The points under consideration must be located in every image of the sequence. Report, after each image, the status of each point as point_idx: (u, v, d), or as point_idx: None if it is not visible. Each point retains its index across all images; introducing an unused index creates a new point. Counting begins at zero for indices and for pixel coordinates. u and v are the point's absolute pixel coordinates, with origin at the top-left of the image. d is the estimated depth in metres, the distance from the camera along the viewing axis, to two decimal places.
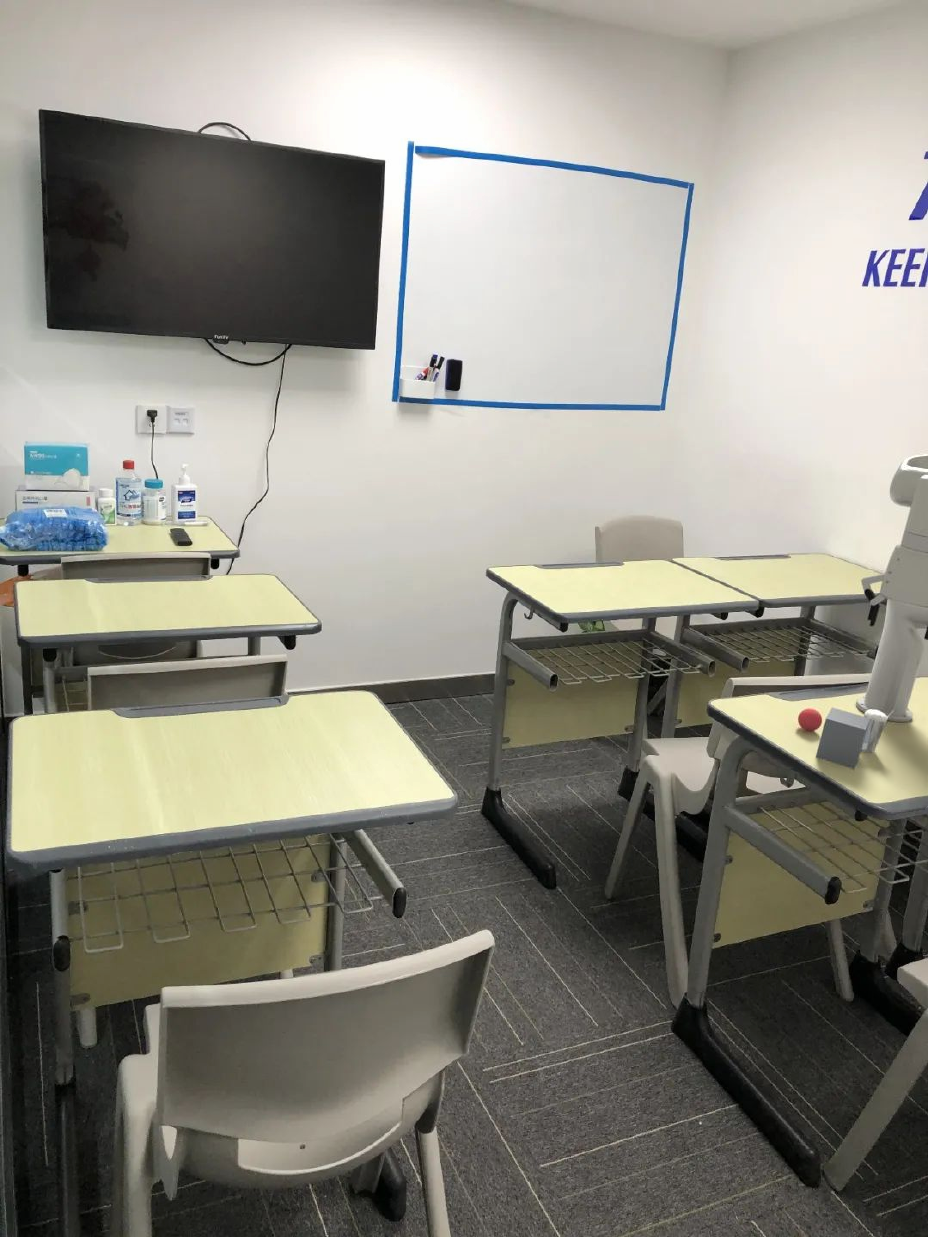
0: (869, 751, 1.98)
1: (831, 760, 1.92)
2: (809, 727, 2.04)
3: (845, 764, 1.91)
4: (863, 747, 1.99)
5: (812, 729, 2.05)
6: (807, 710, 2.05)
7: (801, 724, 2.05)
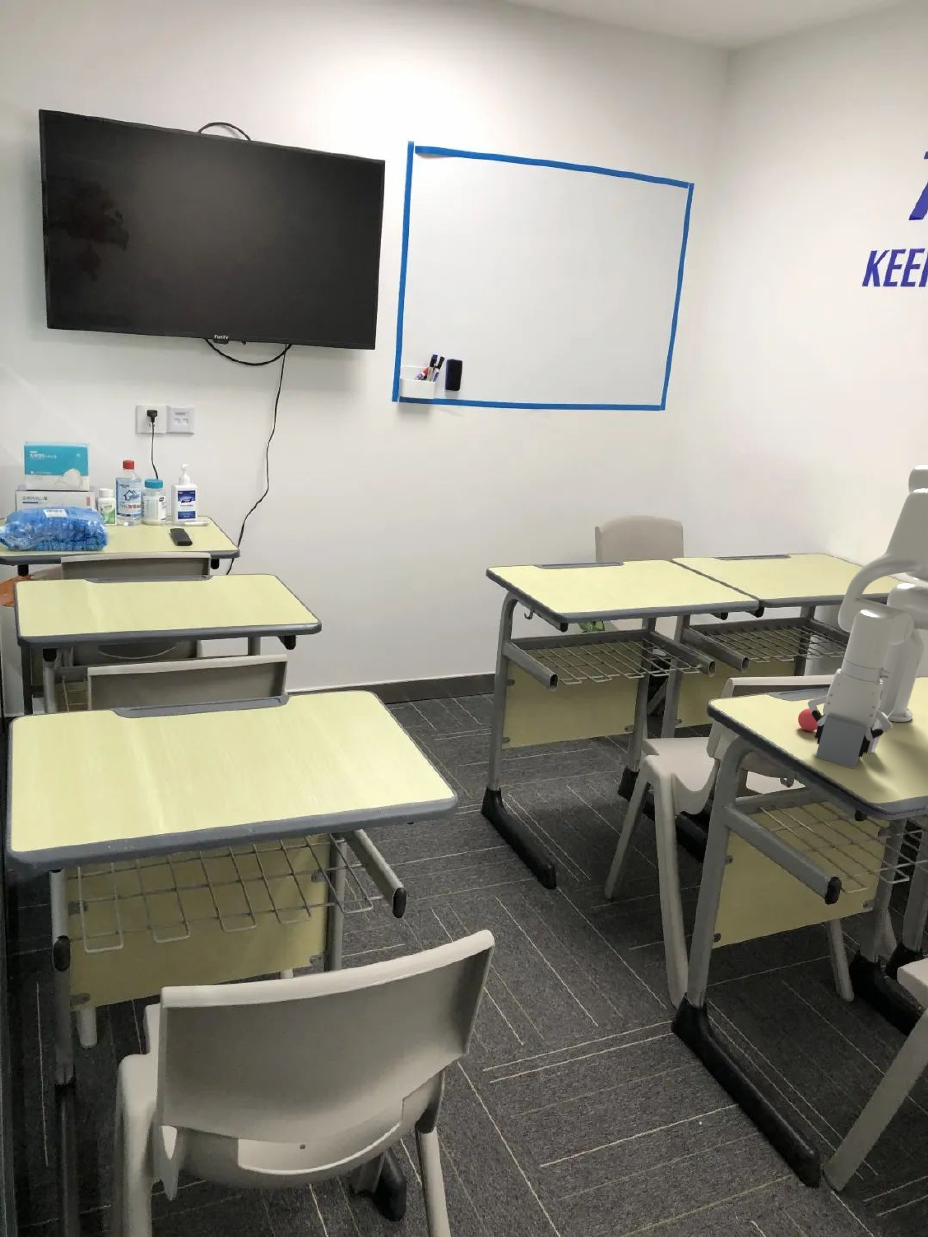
0: (869, 751, 1.98)
1: (831, 760, 1.92)
2: (809, 727, 2.04)
3: (845, 764, 1.91)
4: None
5: (812, 729, 2.05)
6: (807, 710, 2.05)
7: (801, 724, 2.05)
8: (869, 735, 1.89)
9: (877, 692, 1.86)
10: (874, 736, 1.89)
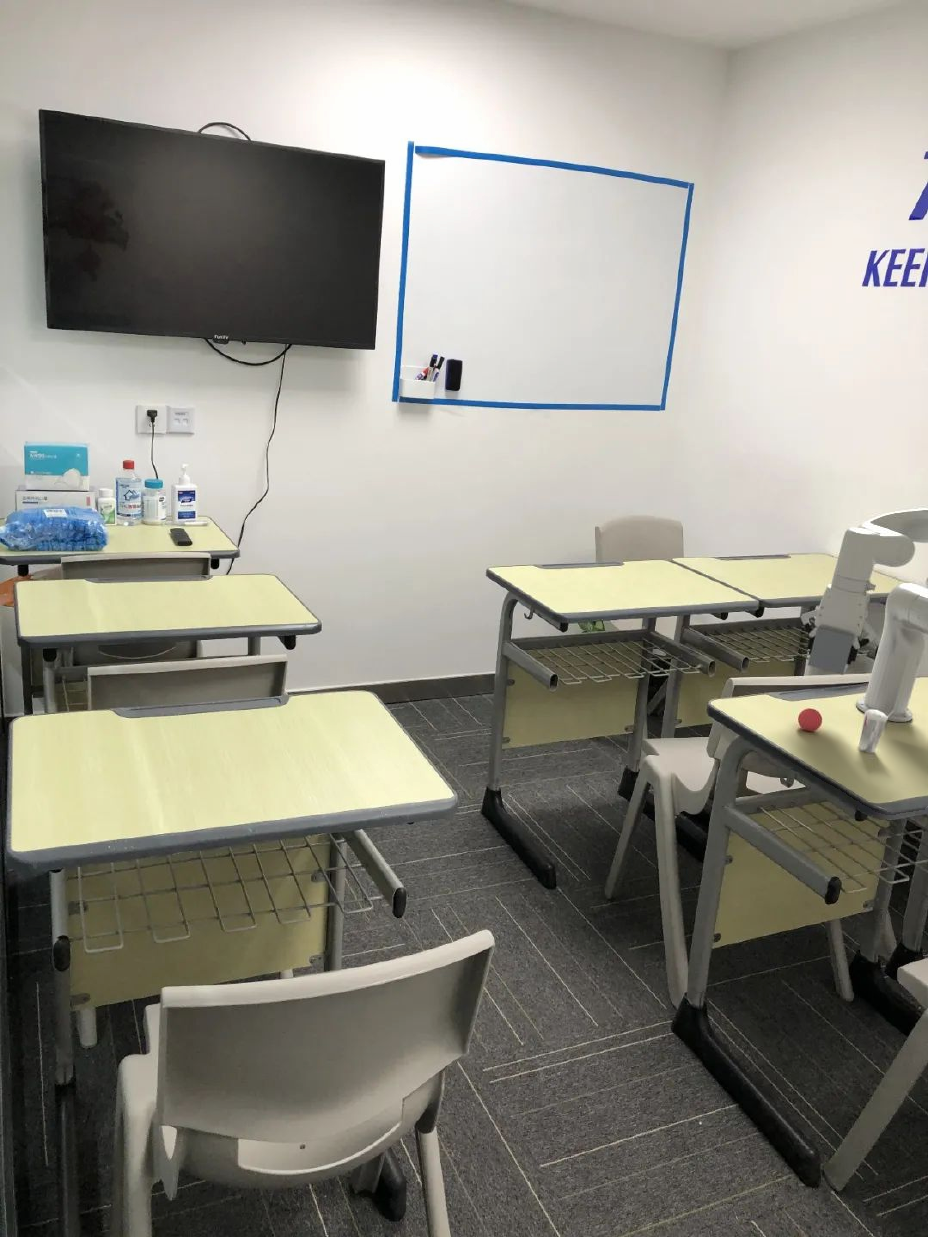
0: (869, 751, 1.98)
1: (822, 668, 2.09)
2: (809, 727, 2.04)
3: (834, 670, 2.08)
4: (863, 747, 1.99)
5: (812, 729, 2.05)
6: (807, 710, 2.05)
7: (801, 724, 2.05)
8: (857, 644, 2.07)
9: (864, 603, 2.04)
10: (861, 645, 2.07)
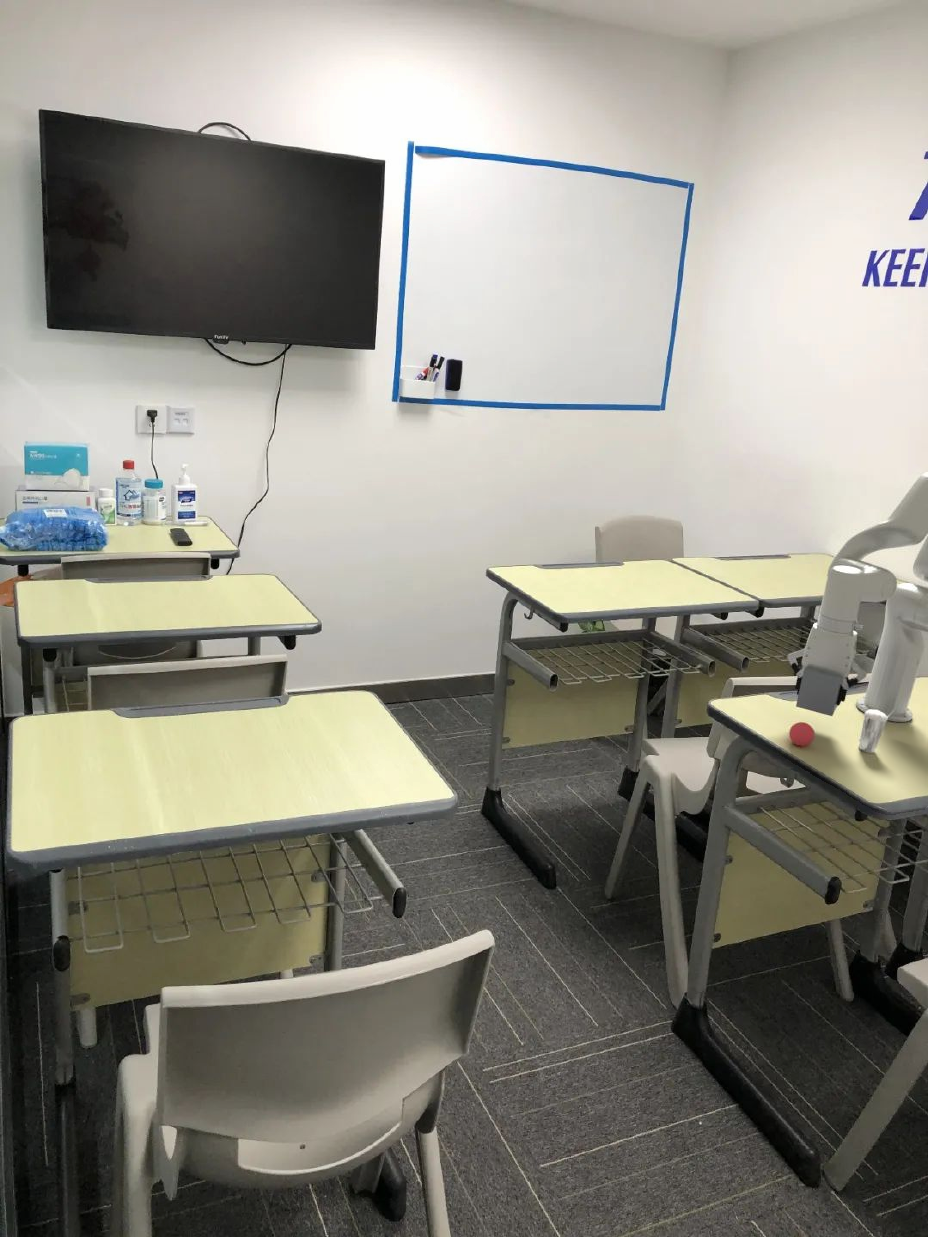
0: (869, 751, 1.98)
1: (811, 709, 2.04)
2: None
3: (823, 712, 2.02)
4: (863, 747, 1.99)
5: (809, 726, 1.97)
6: None
7: None
8: (845, 684, 2.01)
9: (851, 643, 1.98)
10: (850, 685, 2.01)
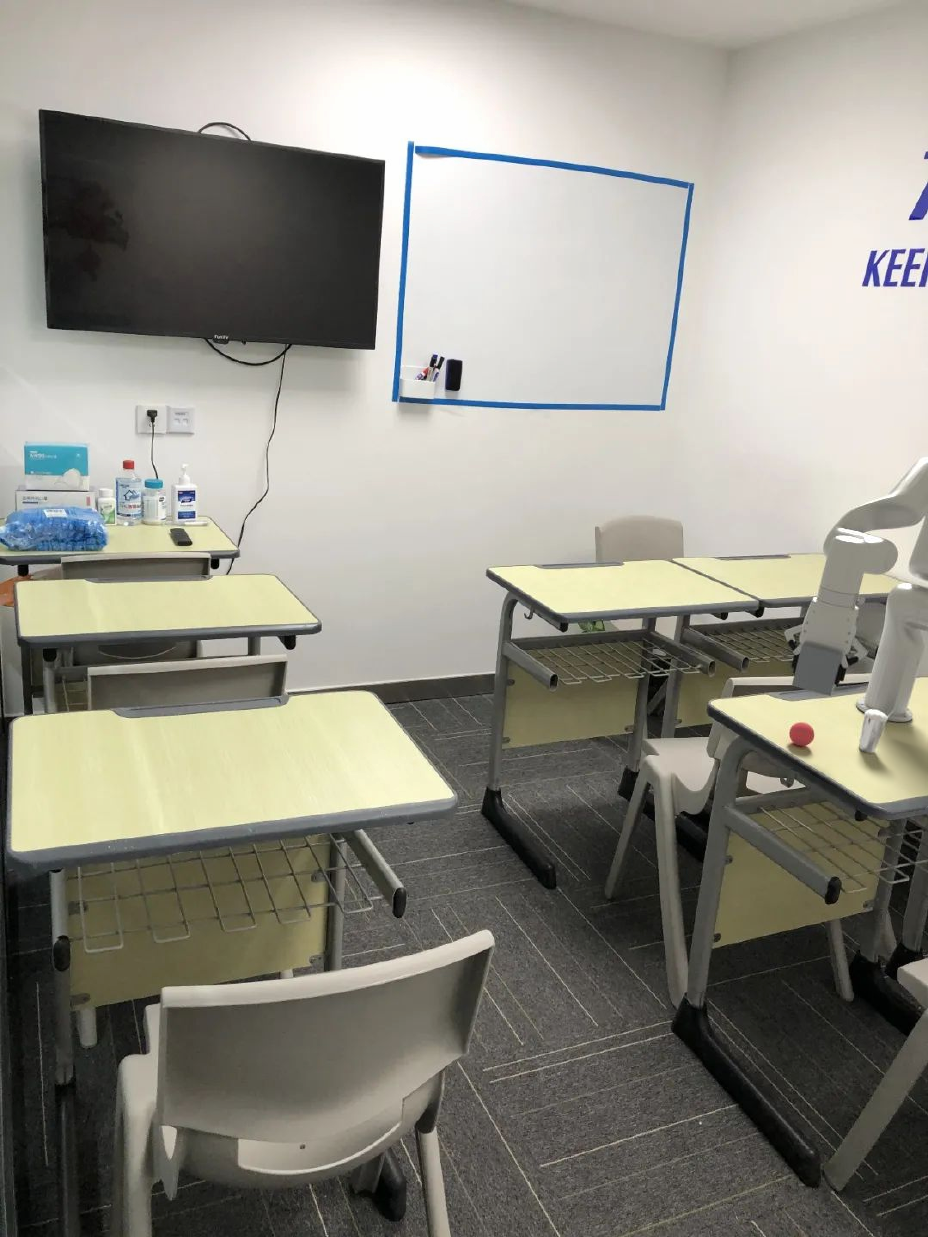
0: (869, 751, 1.98)
1: (807, 688, 1.92)
2: None
3: (821, 691, 1.90)
4: (863, 747, 1.99)
5: (809, 726, 1.97)
6: None
7: None
8: (845, 662, 1.89)
9: (852, 618, 1.86)
10: (850, 663, 1.89)
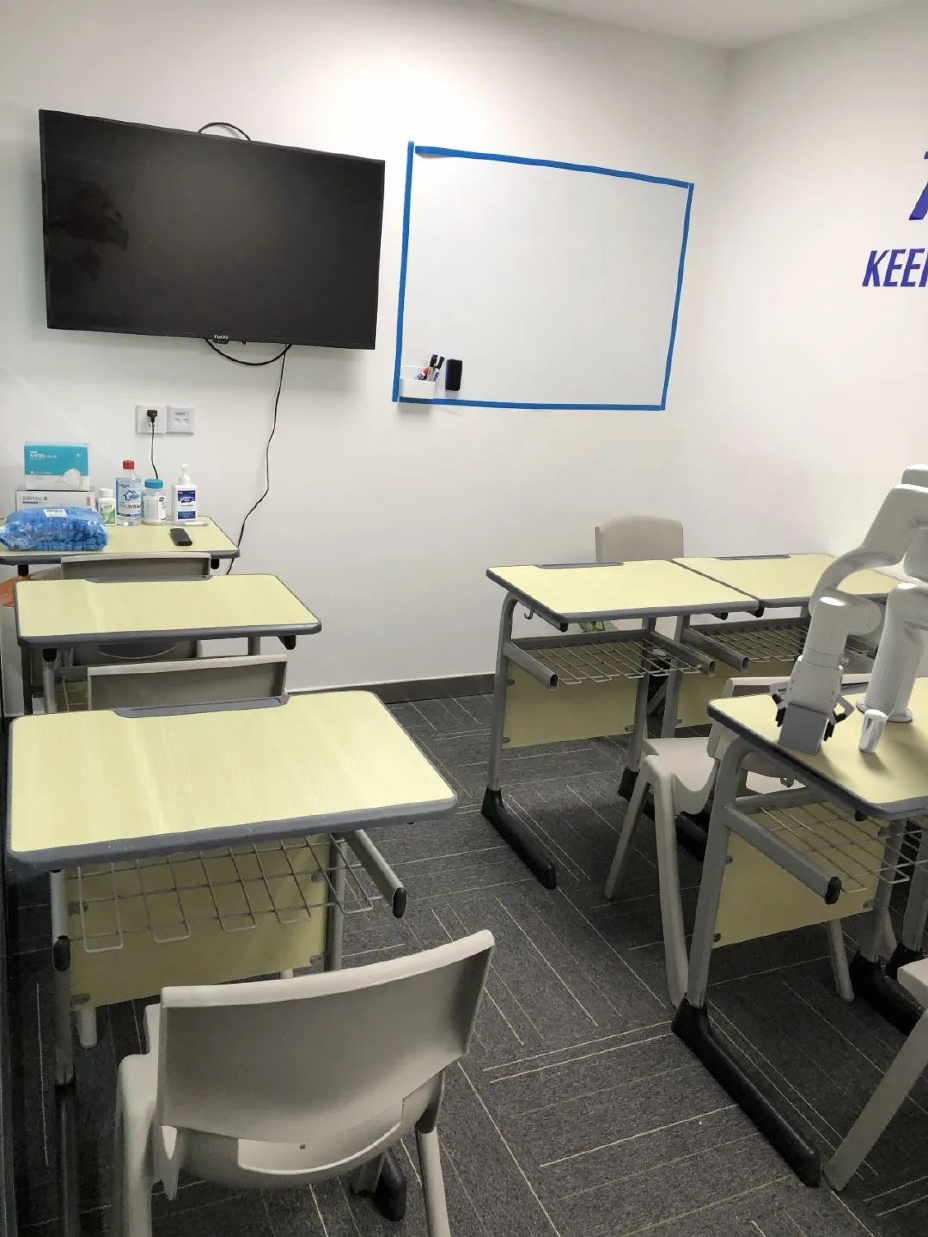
0: (869, 751, 1.98)
1: (793, 747, 1.96)
2: None
3: (806, 751, 1.95)
4: (863, 747, 1.99)
5: None
6: None
7: None
8: (833, 719, 1.93)
9: (836, 678, 1.90)
10: (838, 720, 1.93)
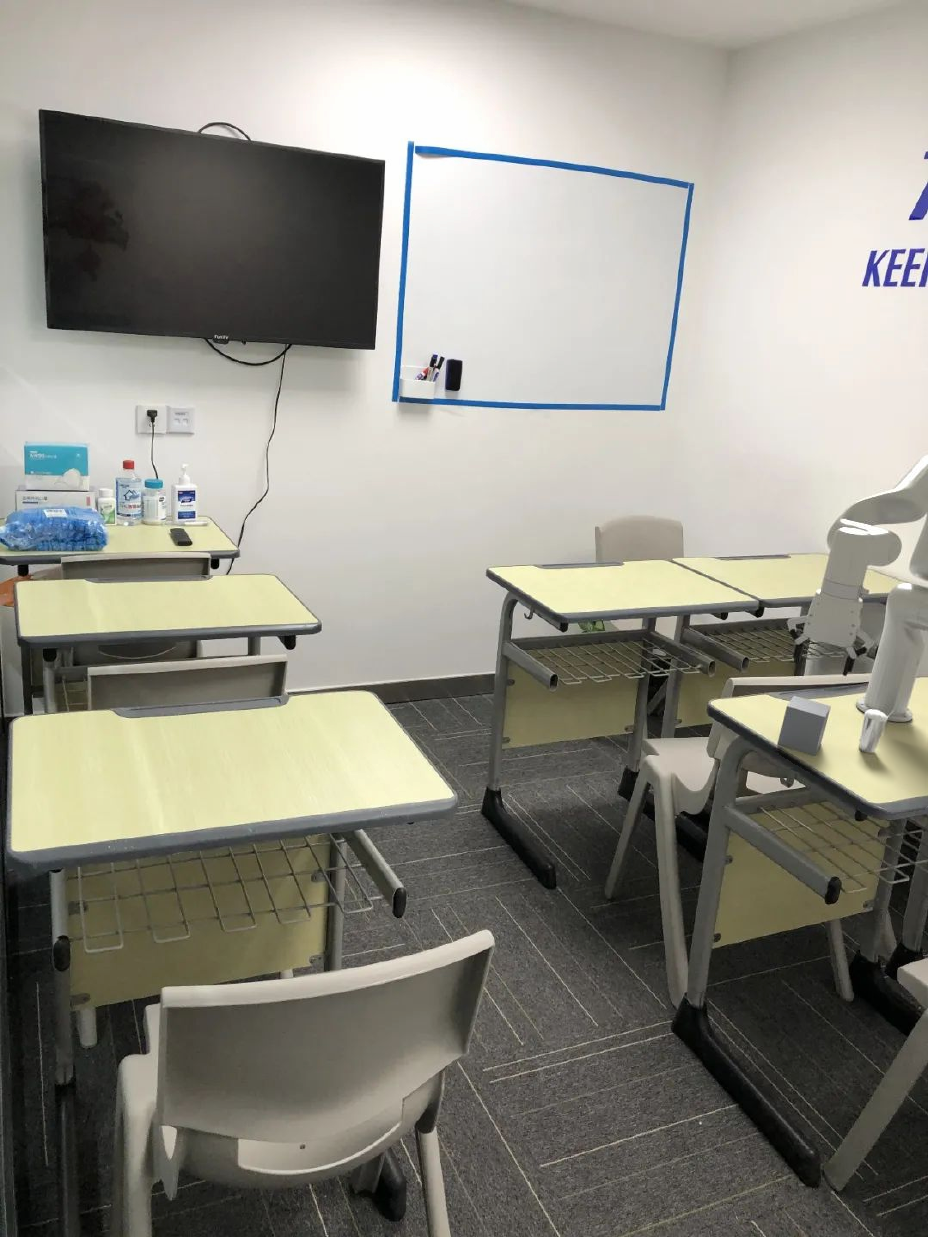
0: (869, 751, 1.98)
1: (793, 747, 1.96)
2: None
3: (806, 751, 1.95)
4: (863, 747, 1.99)
5: None
6: None
7: None
8: (853, 653, 1.89)
9: (856, 610, 1.86)
10: (858, 654, 1.89)
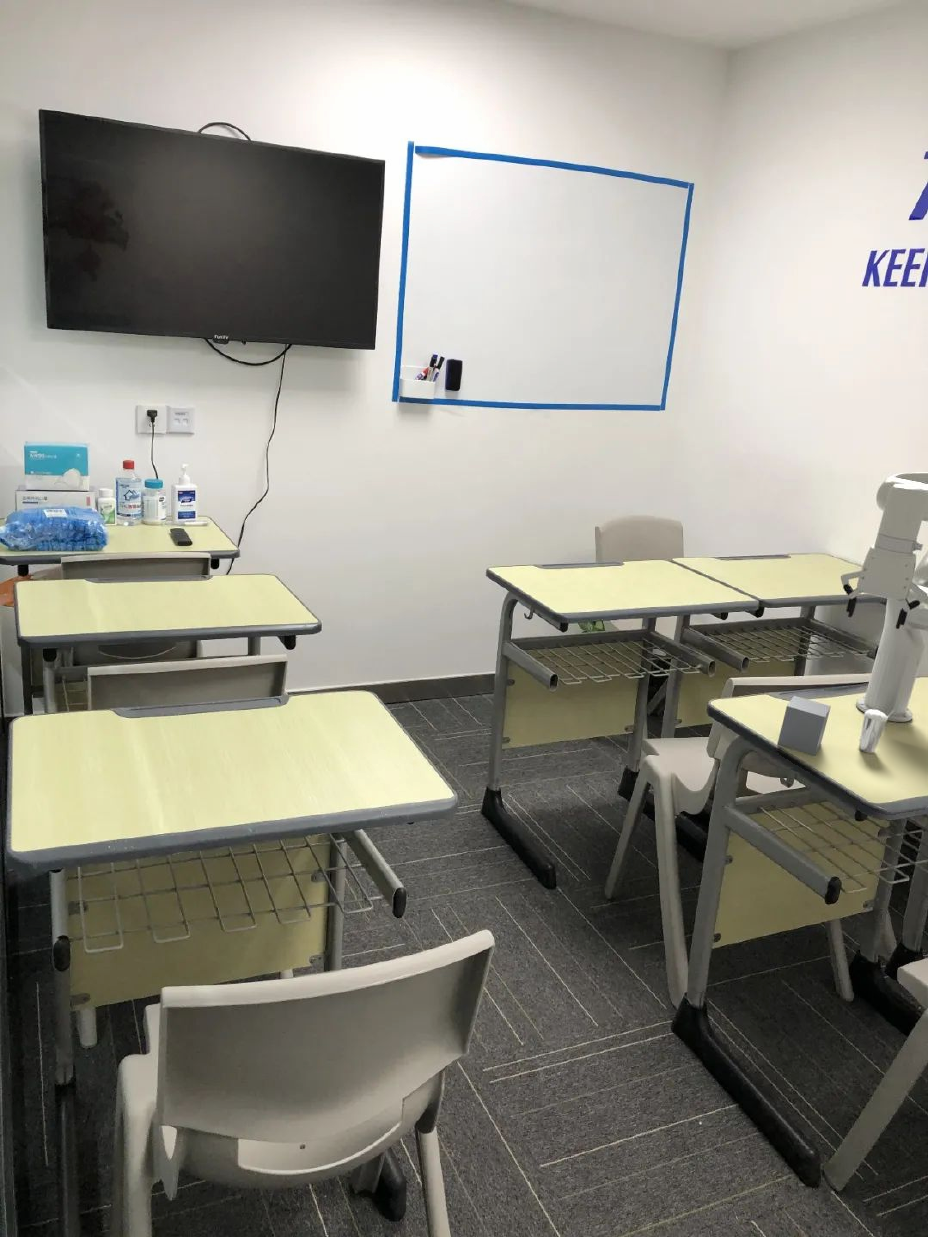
0: (869, 751, 1.98)
1: (793, 747, 1.96)
2: None
3: (806, 751, 1.95)
4: (863, 747, 1.99)
5: None
6: None
7: None
8: (906, 606, 1.95)
9: (911, 564, 1.92)
10: (911, 607, 1.95)
